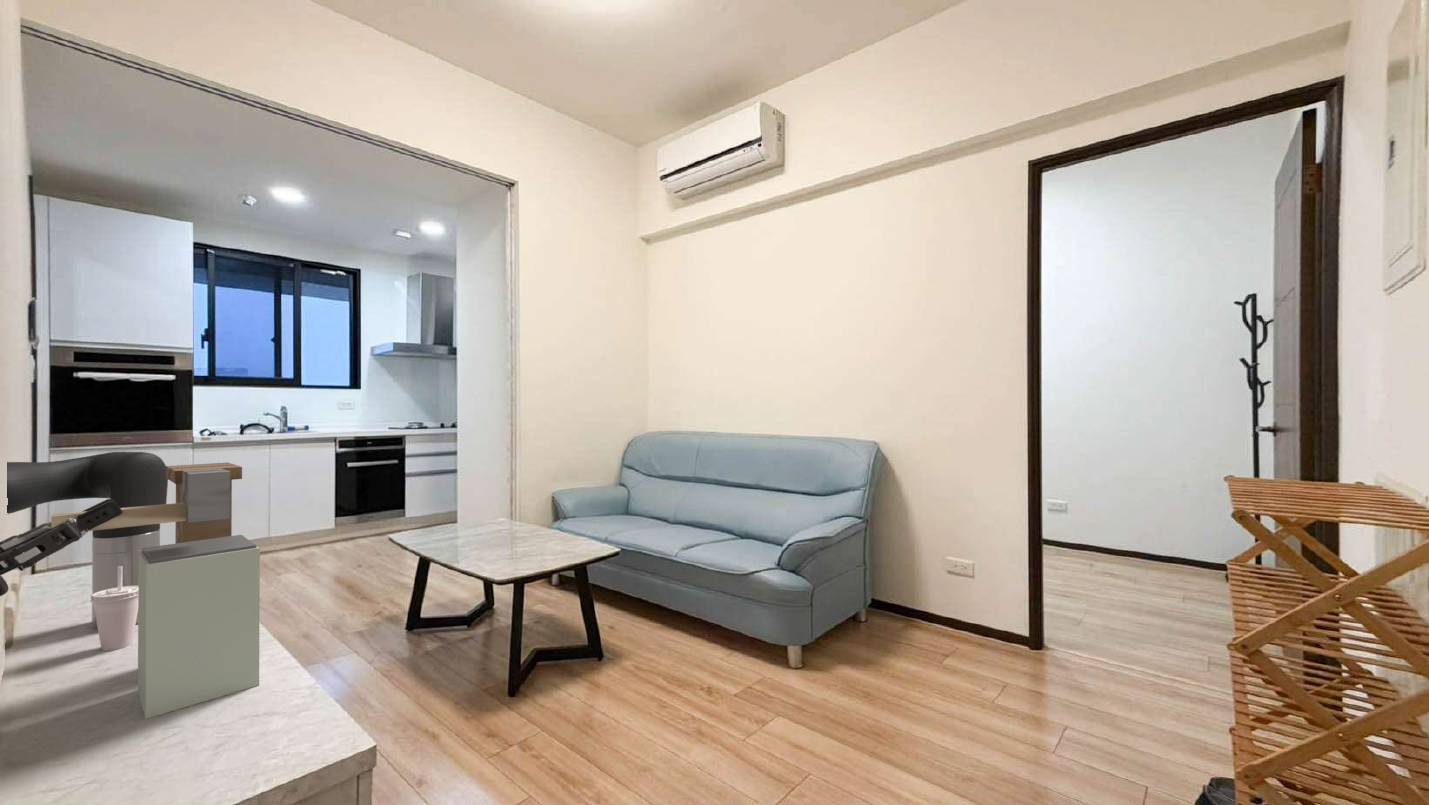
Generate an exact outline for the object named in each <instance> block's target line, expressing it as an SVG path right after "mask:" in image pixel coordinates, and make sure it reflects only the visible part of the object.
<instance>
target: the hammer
mask: <svg viewBox="0 0 1429 805" xmlns="http://www.w3.org/2000/svg"><path fill="white" fill-rule="evenodd" d="M120 509H121V510H122V514H121V515H119V516H117V517H115V518H113V519H111V520H109V521H107V522H105V523H103V524H101V525H99V526H97V527H95V528H92V529H90V530H88V529H86V530H87V531H88V532H93V531H94V530H103V529H113V528H122V527H132V526H141V525H151V524H160V525H161V524H167V523H168V524H169V523H176V522H179V521H187V522H188V523H190V522H200V521H209V520H218V519H227V518H230V471H228V470H225V469H222V468H221V469H203V470H185V471H183V484H182V503H176V502H174V503H166V504H162V505H151V506H139V507H128V508H120ZM82 511H83V510H82ZM85 512H87V511H83V512H81V511H74V512H62V513H61V512H60V513H52V514H51V517H50V518H51V519H50V522H51V527H53V526H56V525H58V524H60V523H62V522H64V521H66V520H67V519H69V518H73V517H75V518H76V519H77V520H78V518H77V516H79V515H81V514H83V513H85ZM56 534H61V533H60V532H57V533H56Z"/></svg>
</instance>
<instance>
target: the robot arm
mask: <svg viewBox="0 0 1429 805" xmlns="http://www.w3.org/2000/svg"><path fill="white" fill-rule="evenodd" d="M6 462H7V498H8V505H7V513H8V514H7V515H9V514H13V513H17V512H20V511H23V510H26V509H30V508H33V507H35V506H38V505H42V504H46V503H52V502H57V501H67V500H80V499H105V500H102V501H101V502H98V503H96V504H94V505H92V506H90V507H88V508H86V509H84V510H82V511H80V512H83V511H87V512H85V513H83V514H81V515H79V516H77V518H78V520H77V519H76V518H75V517H73V518H69V519H67V520H66V521H64V522H62V523H60V524H58V525H56V526H53V527H51V521H50V522H48V523H47V522H45V523H41V524H39V525H38V526H35V527H34V528H32V529H29V530H27V531H25V532H23V533H20V534H16V535H13V536H9V537H7V538H5V539H3V540H1V541H0V597H2V596H4V595H6V594H7V592H8V591H9V585H8V583H7V581H6V580H5V579H4V577H3V576H2V575H5V574H7V573H9V572H11V571H13V570H16V569H18V570H19V571H20V572H21V571H22V572H23V571H25V570H27V569H29V568H31V567H33V566H35V565H36V564H38V562H40V561H42V560H43V559H45V558H48V557H50V556H51V555H53V554H56V553H57V552H59V551H62V550H64V549H65V547H68V546H69V545H71V544H72V543H74V542H78V541H80V539H81V538H83V536H85V535H87V534H88V533H89V531H87V530H86V529H88V530H90V529H92V528H95V527H97V526H99V525H101V524H103V523H105V522H107V521H109V520H111V519H113V518H115V517H117V516H119V515H121V514H122V510H121V509H120V508H128V507H139V506H151V505H162V504H167V499H168V498H167V497H168V484H169V480H168V479H167V478H166V466H167V465H166V463H165V461H163V459H162V458H161V457H160V456H158V455H156V454H154V453H151V452H145V451H144V452H143V451H112V452H105V453H100V454H94V455H87V456H83V457H76V458H70V459H69V458H68V459H62V460H55V461H44V462H43V461H41V462H40V461H39V462H38V461H36V462H35V461H34V462H33V461H6ZM160 528H161V523H160V524H151V525H141V526H132V527H122V528H113V529H103V530H94V531H92V540H91V541H92V544H91V545H92V547H91V548H92V553H91V554H92V559H91V560H92V564H91V566H92V567H91V568H92V570H91V571H92V574H91V578H92V580H91V595H92V594H94V593H96V592H99V591H103V590H107V589H112V588H117V587H118V567H119V566H122V587H124V586H139V551H140V550H142V548H147V547H154V546H161V529H160ZM57 532H60V533H61V534H56V533H57ZM135 625H138V613H137V619H136V624H135ZM91 628H92V629H96V630H98V626H97V621H96V615H95V610H94V603H93V602H91Z"/></svg>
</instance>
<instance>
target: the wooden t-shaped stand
mask: <svg viewBox="0 0 1429 805" xmlns="http://www.w3.org/2000/svg"><path fill="white" fill-rule="evenodd" d="M221 468H222V469H225V470H228V471H230V518H227V519H218V520H209V521H200V522H190V523H188V522H187V521H179V522H175V543H174V544H176V543H184V542H191V541H198V540H206V539H213V538H221V537H228V536H232V533H233V532H232V531H233V530H232V526H233V525H232V523H233V522H232V520H233V519H232V512H233V510H232V507H233V506H232V505H233V504H232V502H233V501H232V500H233V499H232V498H233V496H232V495H233V493H232V492H233V491H232V490H233V482H232V481H233V480H242V479H243V467H242V465H238V464H235V463H230V462H216V463H215V462H213V463H200V464H199V463H198V464H184V465H183V464H181V465H179V464H178V465H166V478H167V479H168V481H170V482H172V483H173V484H174V485H175V503H182V484H183V471H185V470H203V469H221Z"/></svg>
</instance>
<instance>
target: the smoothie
mask: <svg viewBox="0 0 1429 805" xmlns="http://www.w3.org/2000/svg"><path fill="white" fill-rule="evenodd" d="M138 589H139V586H124V587H122V566H119V567H118V587H117V588H112V589H107V590H103V591H99V592H96V593H94V594H92V593H91V595H90V603H92V602H93V603H94V610H95V615H96V621H97V626H98V629H97V631H98V637H99V643H100V648H101V651H105V652H108V651H115V650H119V649H123V648H127V647H129V646H132V644H133V640H134V634H135V629H136V625H137V624H136V619H137V613H138Z"/></svg>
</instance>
